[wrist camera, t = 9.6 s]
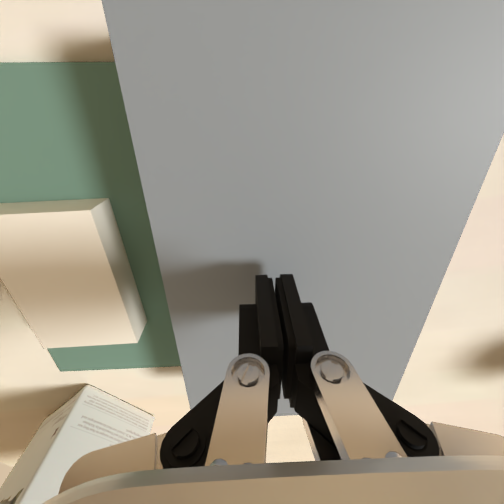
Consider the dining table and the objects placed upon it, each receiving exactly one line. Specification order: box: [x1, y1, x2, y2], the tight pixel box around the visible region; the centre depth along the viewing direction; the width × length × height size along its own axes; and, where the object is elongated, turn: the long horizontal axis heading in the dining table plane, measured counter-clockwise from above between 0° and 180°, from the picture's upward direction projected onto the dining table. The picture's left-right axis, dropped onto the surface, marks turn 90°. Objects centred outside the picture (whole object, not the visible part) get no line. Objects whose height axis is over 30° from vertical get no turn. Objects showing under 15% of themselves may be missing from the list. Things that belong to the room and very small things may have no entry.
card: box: [0, 198, 147, 349], centre depth 15 cm, size 9×6×2 cm, turn 2°
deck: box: [102, 0, 504, 416], centre depth 15 cm, size 22×14×4 cm, turn 1°
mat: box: [0, 62, 181, 371], centre depth 16 cm, size 20×10×1 cm, turn 1°
